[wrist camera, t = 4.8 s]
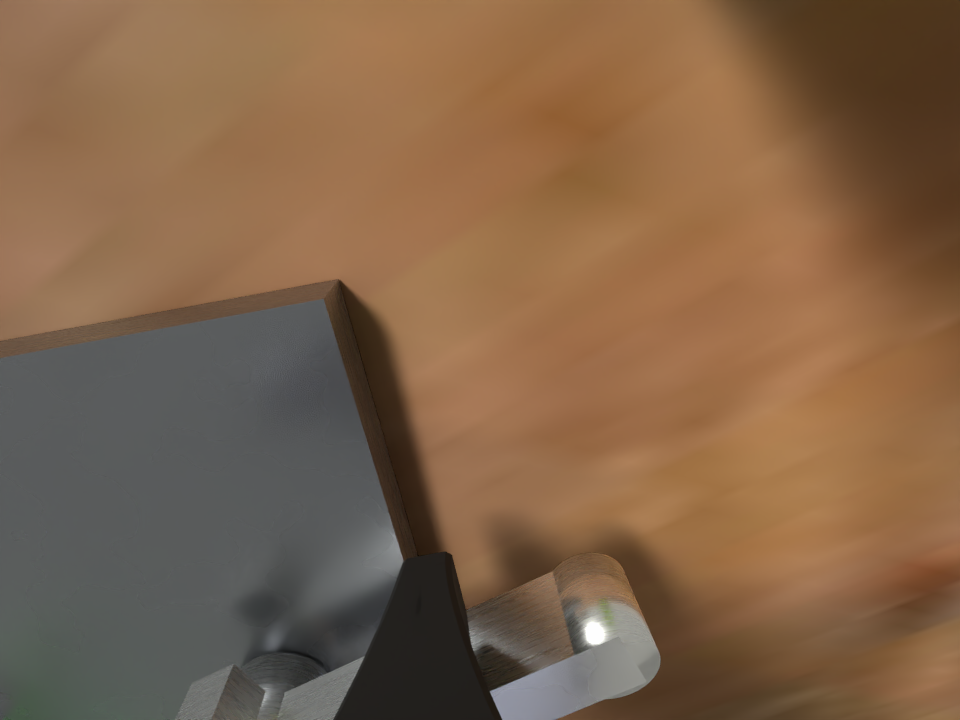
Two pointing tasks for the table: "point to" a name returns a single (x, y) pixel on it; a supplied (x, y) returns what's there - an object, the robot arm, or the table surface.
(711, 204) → the table surface
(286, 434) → the panel
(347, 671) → the t key
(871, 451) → the table surface
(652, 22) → the table surface
